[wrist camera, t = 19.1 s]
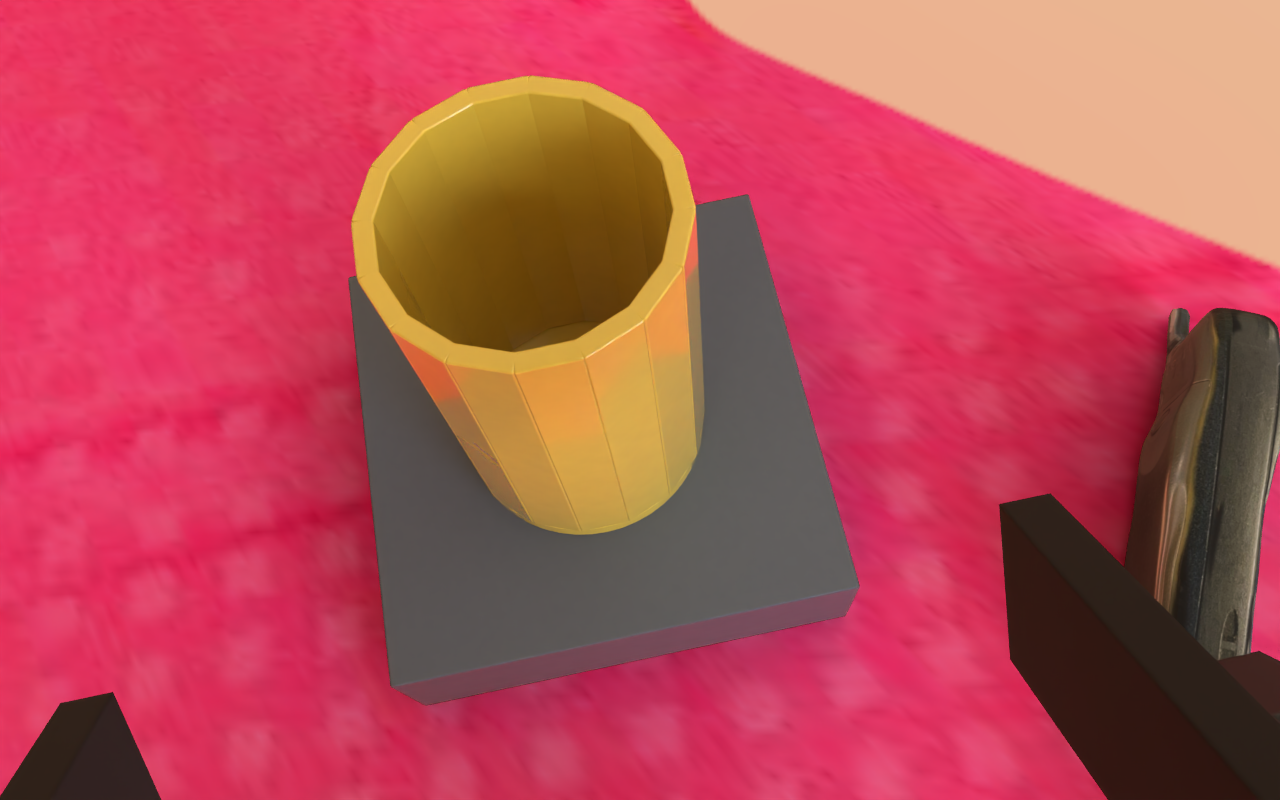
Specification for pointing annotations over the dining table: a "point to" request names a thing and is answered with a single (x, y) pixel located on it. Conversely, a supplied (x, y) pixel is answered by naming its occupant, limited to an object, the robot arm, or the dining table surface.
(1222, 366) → the dark pencil case
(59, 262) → the dining table surface
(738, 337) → the grey block
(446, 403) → the yellow cup
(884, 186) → the dining table surface
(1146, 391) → the dining table surface
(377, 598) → the dining table surface
